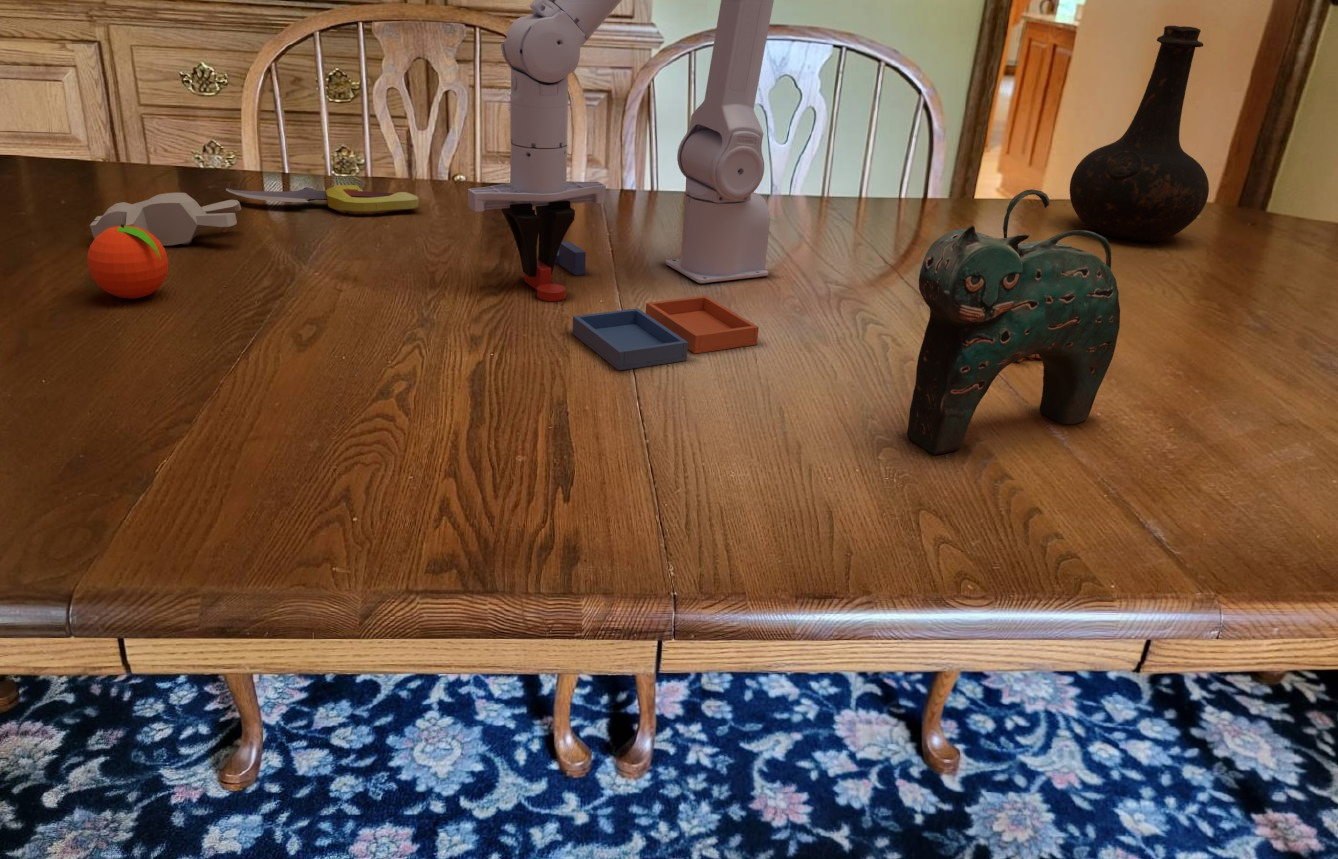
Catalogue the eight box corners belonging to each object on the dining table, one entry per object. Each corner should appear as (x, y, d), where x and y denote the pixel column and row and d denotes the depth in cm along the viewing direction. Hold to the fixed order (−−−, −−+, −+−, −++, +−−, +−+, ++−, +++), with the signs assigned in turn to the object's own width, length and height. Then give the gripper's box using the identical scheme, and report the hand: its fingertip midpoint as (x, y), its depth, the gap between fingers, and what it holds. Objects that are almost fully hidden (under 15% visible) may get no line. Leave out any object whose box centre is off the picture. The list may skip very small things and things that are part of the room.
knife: (211, 209, 132) (413, 219, 133) (208, 188, 131) (412, 199, 132) (231, 195, 139) (423, 204, 141) (229, 175, 138) (422, 185, 139)
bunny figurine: (97, 196, 119) (236, 180, 122) (110, 239, 121) (246, 223, 125) (79, 217, 111) (229, 200, 114) (94, 264, 113) (240, 245, 117)
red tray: (704, 311, 109) (706, 295, 108) (757, 344, 101) (758, 326, 100) (644, 319, 105) (645, 302, 105) (694, 353, 98) (695, 335, 97)
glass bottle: (1038, 227, 151) (1083, 18, 139) (1098, 212, 162) (1145, 18, 150) (1159, 258, 139) (1220, 34, 127) (1214, 240, 150) (1276, 32, 138)
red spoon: (570, 299, 109) (570, 275, 108) (543, 302, 108) (543, 278, 107) (542, 279, 115) (542, 256, 114) (516, 281, 114) (516, 258, 113)
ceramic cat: (925, 466, 80) (975, 203, 71) (873, 431, 85) (913, 182, 76) (1109, 427, 88) (1173, 189, 80) (1052, 397, 94) (1106, 171, 85)
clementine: (197, 296, 103) (187, 224, 100) (138, 315, 98) (125, 240, 94) (138, 281, 106) (127, 211, 103) (77, 299, 100) (63, 226, 97)
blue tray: (637, 325, 104) (638, 307, 103) (686, 360, 96) (688, 342, 95) (572, 333, 100) (572, 316, 100) (618, 370, 93) (619, 351, 92)
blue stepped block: (541, 257, 122) (541, 235, 121) (565, 255, 124) (565, 233, 123) (567, 276, 117) (568, 253, 115) (592, 273, 118) (592, 251, 117)
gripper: (587, 133, 113) (583, 256, 119) (456, 138, 106) (459, 268, 112) (616, 146, 107) (611, 275, 113) (481, 152, 101) (482, 288, 106)
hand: (537, 273), depth 112 cm, fingers closed on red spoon
